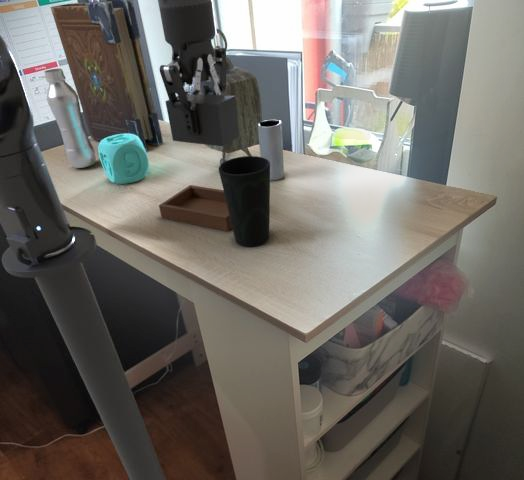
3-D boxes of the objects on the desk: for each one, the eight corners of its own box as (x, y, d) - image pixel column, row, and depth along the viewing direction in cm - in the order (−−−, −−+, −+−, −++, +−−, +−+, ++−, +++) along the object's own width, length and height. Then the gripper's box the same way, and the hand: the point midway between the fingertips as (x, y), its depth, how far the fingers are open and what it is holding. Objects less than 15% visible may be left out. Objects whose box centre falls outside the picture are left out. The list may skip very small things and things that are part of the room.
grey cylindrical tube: (259, 180, 96) (254, 126, 89) (266, 171, 99) (262, 119, 93) (280, 181, 95) (276, 127, 88) (287, 172, 98) (284, 119, 91)
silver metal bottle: (77, 161, 115) (45, 68, 102) (103, 160, 114) (74, 66, 101) (65, 171, 110) (30, 74, 97) (92, 170, 109) (60, 72, 96)
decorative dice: (138, 167, 108) (129, 130, 103) (152, 176, 103) (143, 138, 98) (105, 177, 105) (93, 140, 100) (118, 187, 100) (106, 148, 95)
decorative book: (163, 143, 120) (132, -3, 100) (141, 152, 116) (104, 2, 96) (108, 132, 132) (70, -1, 112) (87, 140, 128) (44, 4, 109)
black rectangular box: (240, 136, 77) (235, 95, 73) (222, 146, 74) (217, 104, 70) (191, 131, 81) (184, 92, 77) (173, 140, 78) (165, 101, 74)
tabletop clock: (266, 165, 102) (254, 27, 86) (230, 177, 99) (211, 35, 82) (231, 150, 112) (215, 23, 95) (198, 160, 108) (175, 30, 92)
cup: (239, 255, 74) (229, 179, 66) (222, 235, 79) (211, 163, 71) (283, 242, 76) (278, 167, 68) (264, 223, 81) (257, 152, 73)
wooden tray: (227, 231, 80) (225, 217, 79) (161, 218, 87) (158, 205, 85) (256, 208, 86) (255, 194, 85) (192, 197, 93) (190, 184, 91)
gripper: (174, 7, 60) (197, 146, 71) (235, -8, 69) (247, 118, 80) (130, 9, 63) (159, 141, 74) (194, -5, 72) (211, 115, 83)
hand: (205, 128), depth 77 cm, fingers closed on black rectangular box, 5 cm apart
